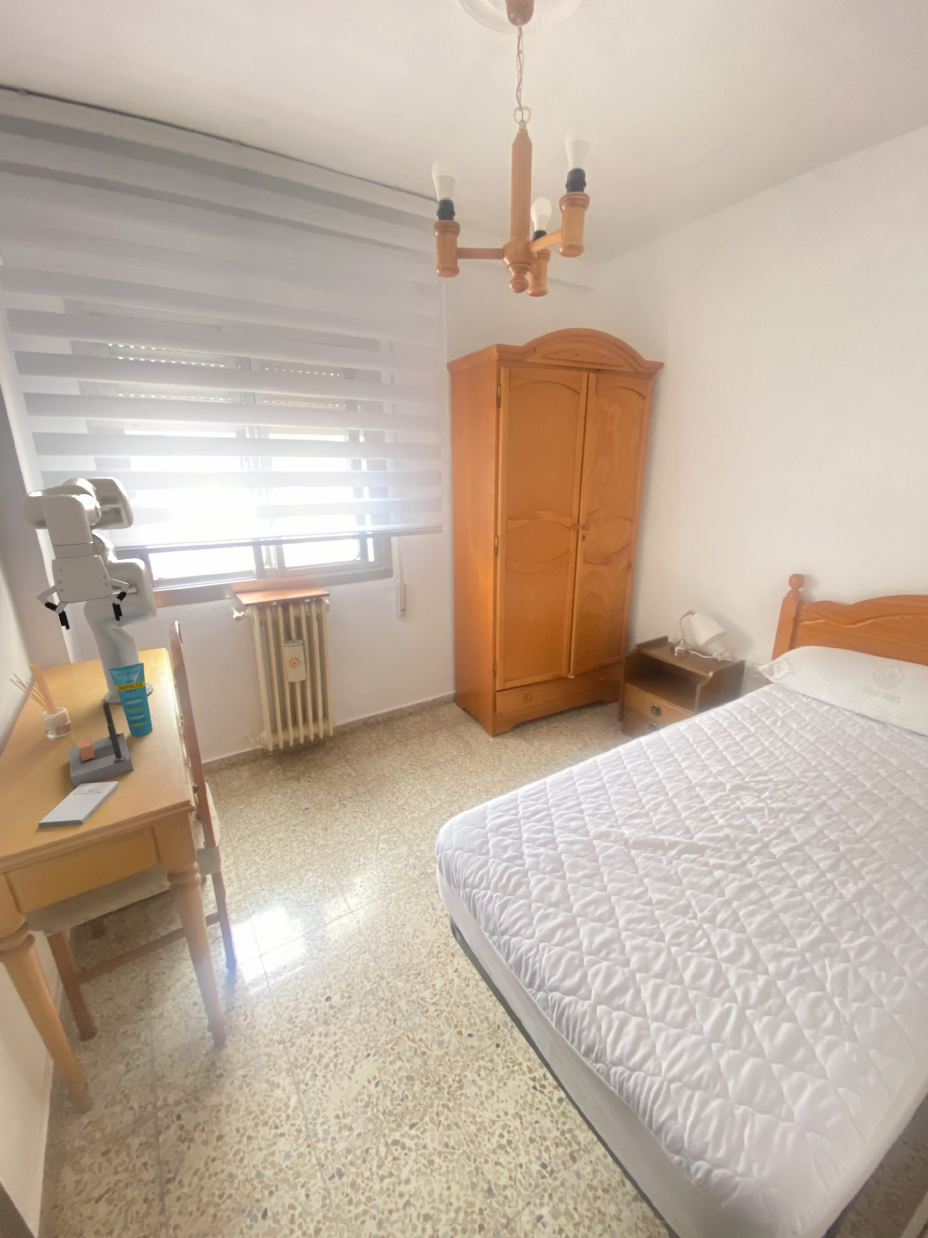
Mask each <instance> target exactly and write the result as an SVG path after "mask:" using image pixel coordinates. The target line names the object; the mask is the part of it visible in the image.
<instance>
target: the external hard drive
mask: <svg viewBox="0 0 928 1238" xmlns="http://www.w3.org/2000/svg"><path fill="white" fill-rule="evenodd" d="M119 786H120V782H119V781H116V780H115V781H105V782H104V781H99V782H95V783H84V784H80V785H79V786H78V787H76V789H74V788H73V790H72V791H71V792H70V793H68V794H67V796H65V798H64V799H63V800H61V801H60V802H59V803H58V804H57V805H56V806H55V807H54V808H53V809H52V810H50V811H49V813H47V814H46V815H45V816H44V817H43V818H42V819H41V820H40V821H39V822H38V823H37V825H38V828H47V827H49V828H50V827H63V826H75V825H76V826H77V825H84V824H85V823H86V822H87V821H88V819H90V817H91V816H92V815H93V814H94V813H95V812H96V811H97V810H98V809H99V808H100V806H102V804H103V803H104V802H105V801H106V800H107V799H108V798H109V797H110V796H111V794H113V793H114V792H115V790H117V788H118V787H119Z"/></svg>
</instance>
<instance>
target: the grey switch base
mask: <svg viewBox="0 0 928 1238" xmlns="http://www.w3.org/2000/svg"><path fill="white" fill-rule="evenodd" d="M116 735H117V739H118V743H119V747H120V750H121V754H122V757H121V758H116V757H115V753H114V750H113V746H112V742H111V739H110V735H109V736H106V737H104V738H103V737H102V738H100V739H96V740H94V741H92V745H93V748H94V753H95V757H94V758H91V759H88V760H84V761H82V759H81V755H80V752H79V747H78V745H76V746H72V747H69V748H68V756H69V758H68V759H69V771H70V780H71V782H72V786H73V790H74V789H76V787H78V786H79V785H80V784H84V783H99V782H102V781H103V780H106V779H109V778H113V777H116V776H118V775H122V774H126V773H128V772H131V771H134V768H133V767H134V766H133V763H132V759H131V756H130V752H129V748H128V745H127V741H126V738H125V734H124V732H121V733H116Z"/></svg>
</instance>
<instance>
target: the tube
mask: <svg viewBox="0 0 928 1238" xmlns="http://www.w3.org/2000/svg"><path fill="white" fill-rule="evenodd" d="M144 665H145V664H144V662H141V663H138V664H134V665H129V666H124V667H118V668H111V669H108V670H109V672H110V674H111V676H112V679H113V681H114V684H115V686H116V689H117V692H118V695H119V698H120V701H121V703H120V704H121V707H122V709H123V712H124V716H125V719H126V723H127V726H128V730H129V733H130V736H131V737H142V736H145V735H149V734H150V733H151V732H152V731H153V724H152V717H151V712H150V706H149V699H148V695H147V692H146V685H145V683H146V678H145V666H144Z"/></svg>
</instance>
